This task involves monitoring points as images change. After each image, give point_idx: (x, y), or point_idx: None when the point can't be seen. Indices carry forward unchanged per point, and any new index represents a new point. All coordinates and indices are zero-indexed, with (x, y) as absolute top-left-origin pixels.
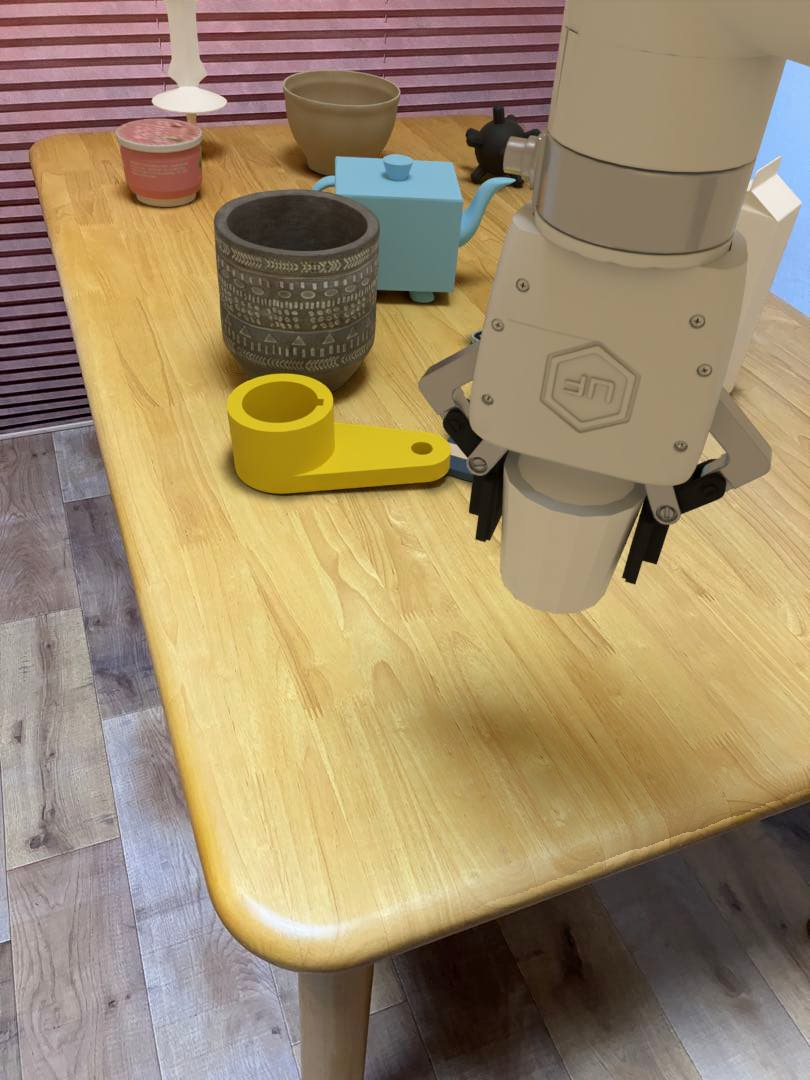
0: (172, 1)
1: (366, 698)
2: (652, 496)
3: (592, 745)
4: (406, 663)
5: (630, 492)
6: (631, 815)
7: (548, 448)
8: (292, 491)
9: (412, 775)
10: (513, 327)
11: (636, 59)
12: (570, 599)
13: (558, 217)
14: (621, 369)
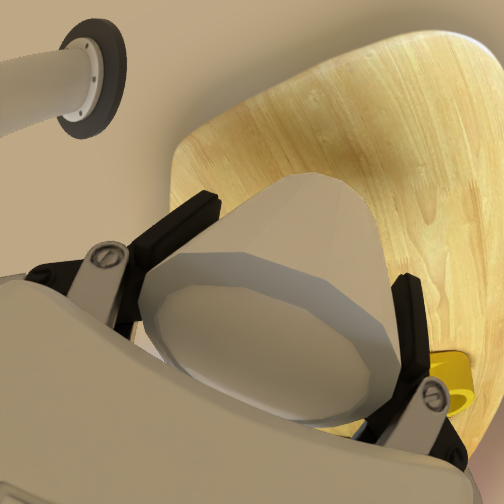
0: None
1: (441, 193)
2: (108, 286)
3: (288, 152)
4: (412, 221)
5: (156, 308)
6: (265, 102)
7: (308, 483)
8: (447, 352)
9: (414, 127)
10: None
11: None
12: (294, 179)
13: None
14: None
